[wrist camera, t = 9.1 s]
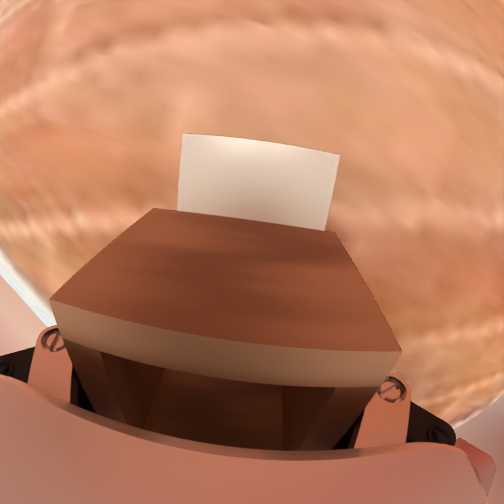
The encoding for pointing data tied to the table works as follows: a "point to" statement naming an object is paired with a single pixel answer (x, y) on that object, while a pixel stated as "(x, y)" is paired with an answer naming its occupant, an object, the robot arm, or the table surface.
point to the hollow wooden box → (226, 332)
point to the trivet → (256, 180)
